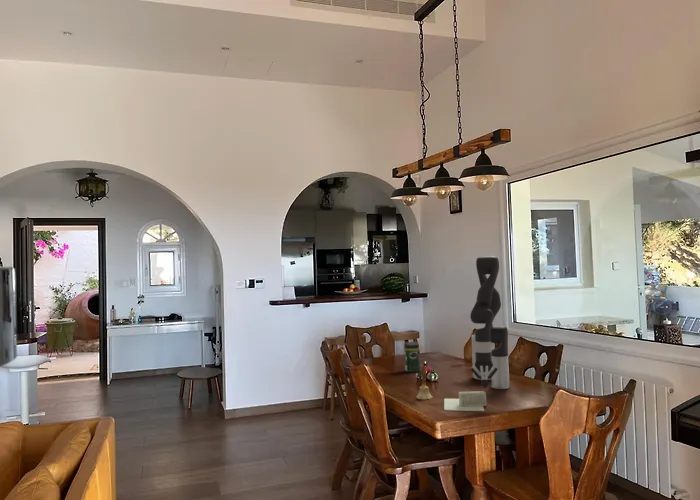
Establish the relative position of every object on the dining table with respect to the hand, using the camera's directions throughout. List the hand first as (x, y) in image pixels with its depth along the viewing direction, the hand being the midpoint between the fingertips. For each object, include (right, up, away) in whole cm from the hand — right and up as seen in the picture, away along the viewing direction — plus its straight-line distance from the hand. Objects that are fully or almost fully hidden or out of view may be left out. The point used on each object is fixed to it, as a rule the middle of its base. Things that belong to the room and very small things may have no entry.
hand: (484, 387), depth 247 cm
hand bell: (-26, -10, +18) cm, 33 cm away
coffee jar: (-24, -12, +85) cm, 89 cm away
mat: (-10, -9, +2) cm, 13 cm away
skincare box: (0, -5, -1) cm, 5 cm away
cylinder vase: (+15, -10, +58) cm, 61 cm away
